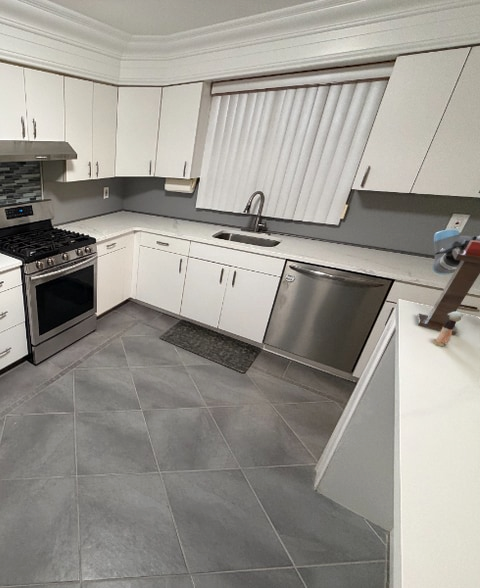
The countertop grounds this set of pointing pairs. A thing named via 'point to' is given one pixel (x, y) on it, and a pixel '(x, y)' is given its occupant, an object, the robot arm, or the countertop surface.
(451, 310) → the shelf stand
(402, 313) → the countertop surface
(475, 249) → the toy mallet
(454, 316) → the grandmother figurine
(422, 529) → the countertop surface
